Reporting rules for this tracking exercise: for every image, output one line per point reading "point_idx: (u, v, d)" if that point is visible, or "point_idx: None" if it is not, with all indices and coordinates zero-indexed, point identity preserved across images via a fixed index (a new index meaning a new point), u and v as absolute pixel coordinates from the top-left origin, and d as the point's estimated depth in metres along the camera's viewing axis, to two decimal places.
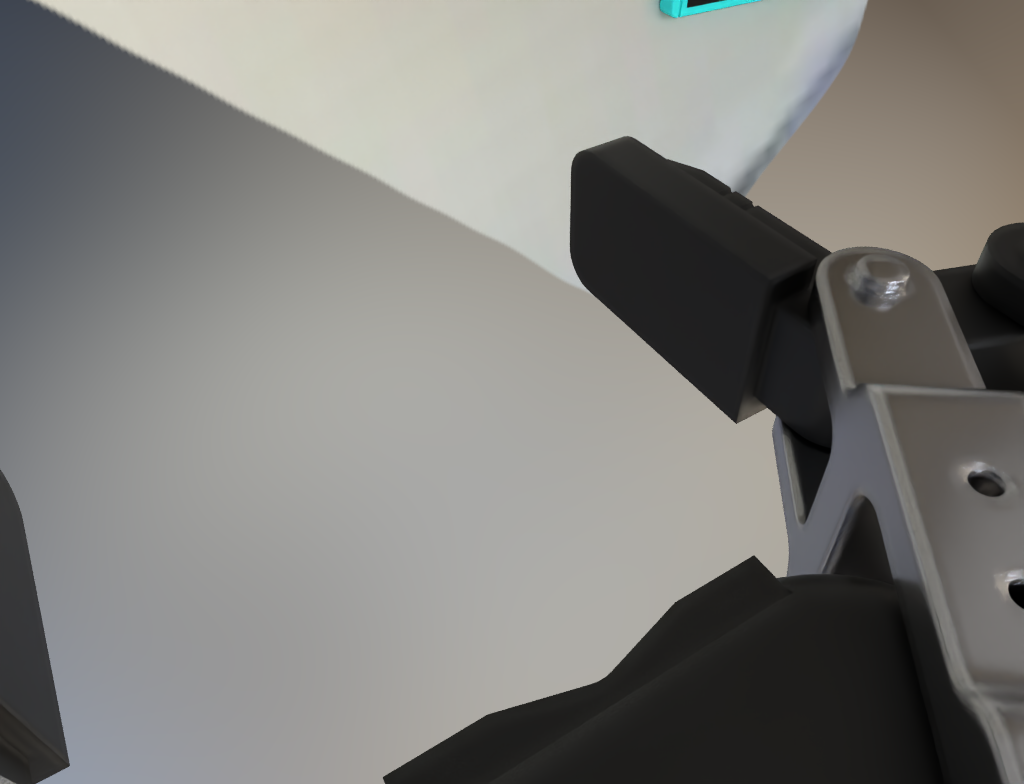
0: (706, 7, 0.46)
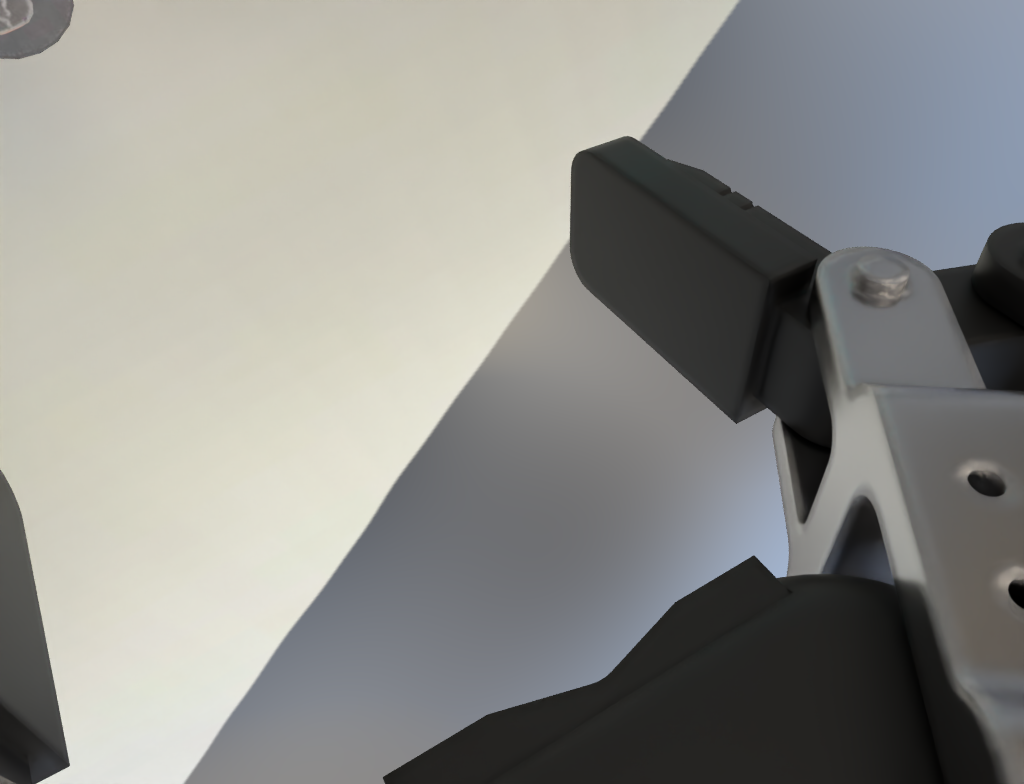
0: None
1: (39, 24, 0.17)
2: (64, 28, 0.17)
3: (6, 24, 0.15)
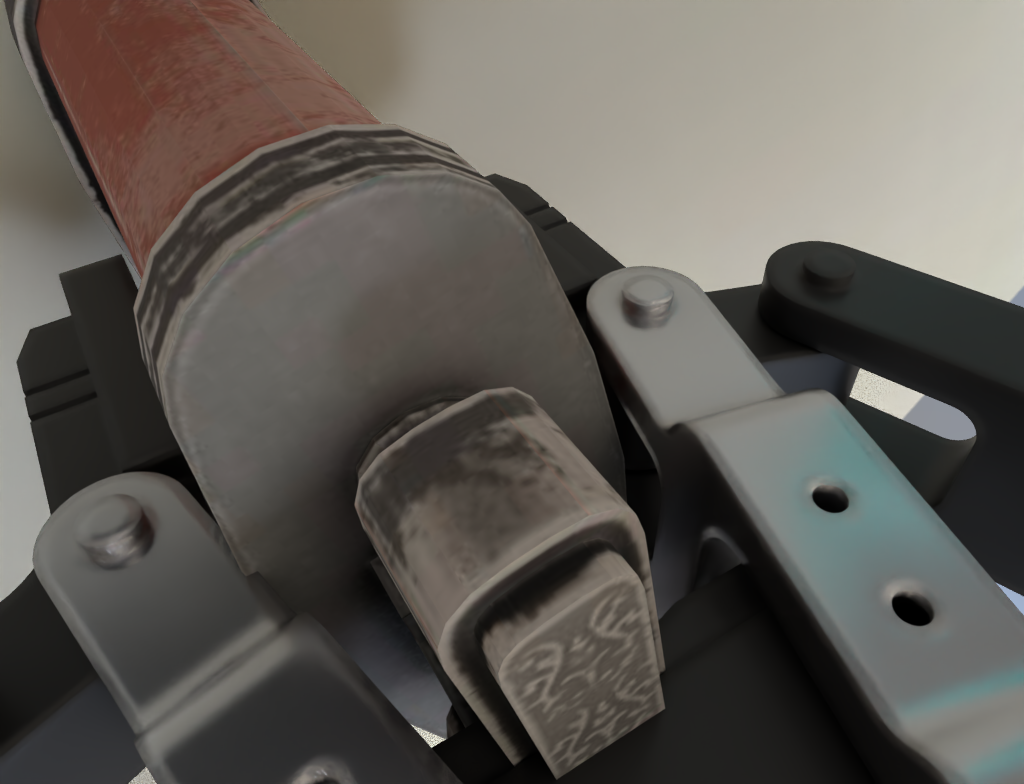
0: None
1: None
2: None
3: None
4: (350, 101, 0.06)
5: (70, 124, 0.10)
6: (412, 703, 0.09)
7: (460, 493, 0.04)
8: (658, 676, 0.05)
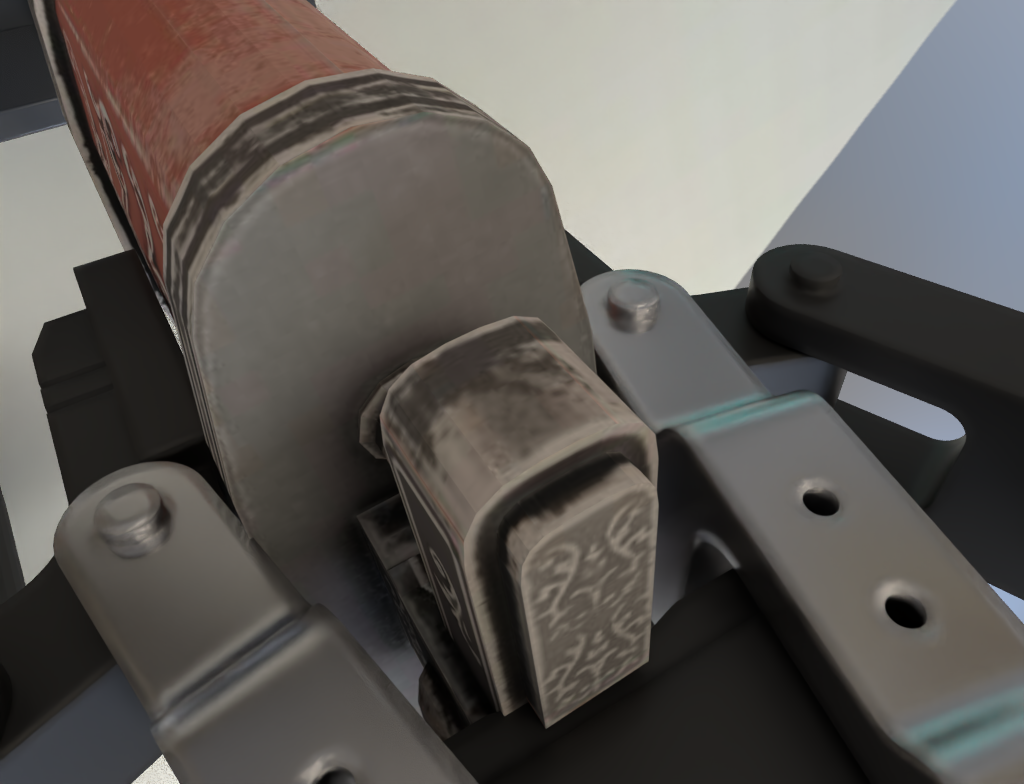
0: None
1: None
2: None
3: None
4: (380, 64, 0.06)
5: (74, 81, 0.10)
6: None
7: (492, 400, 0.04)
8: (649, 616, 0.05)
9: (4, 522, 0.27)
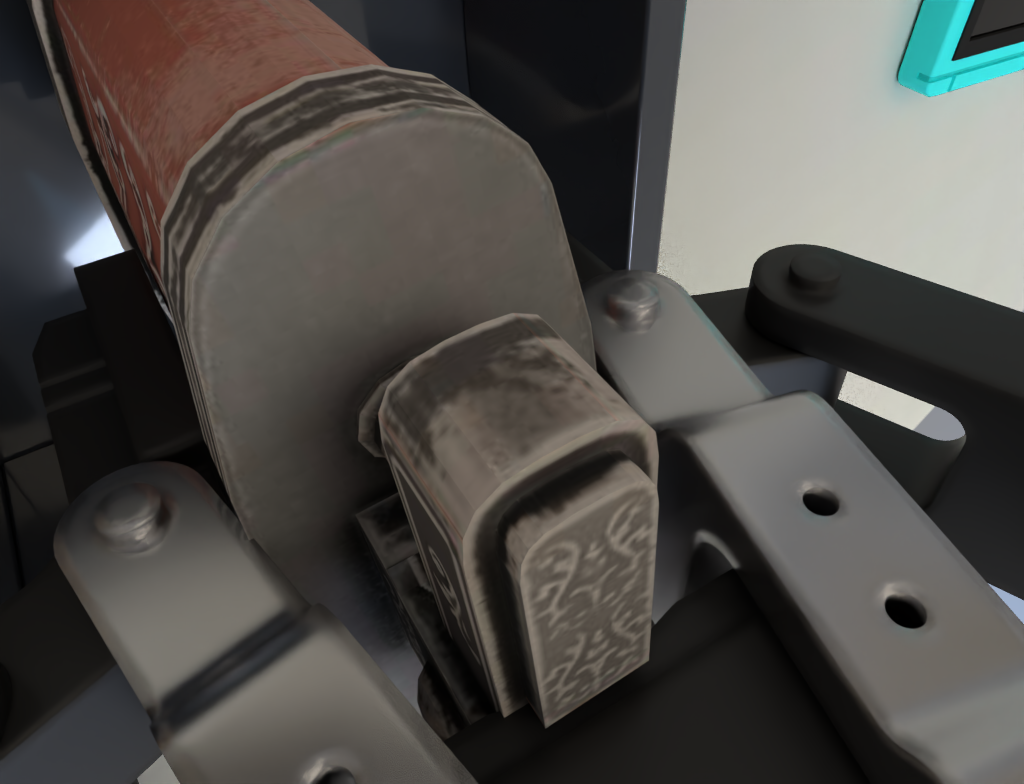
0: None
1: None
2: None
3: None
4: (379, 61, 0.06)
5: (72, 79, 0.10)
6: None
7: (491, 397, 0.04)
8: (650, 614, 0.05)
9: None
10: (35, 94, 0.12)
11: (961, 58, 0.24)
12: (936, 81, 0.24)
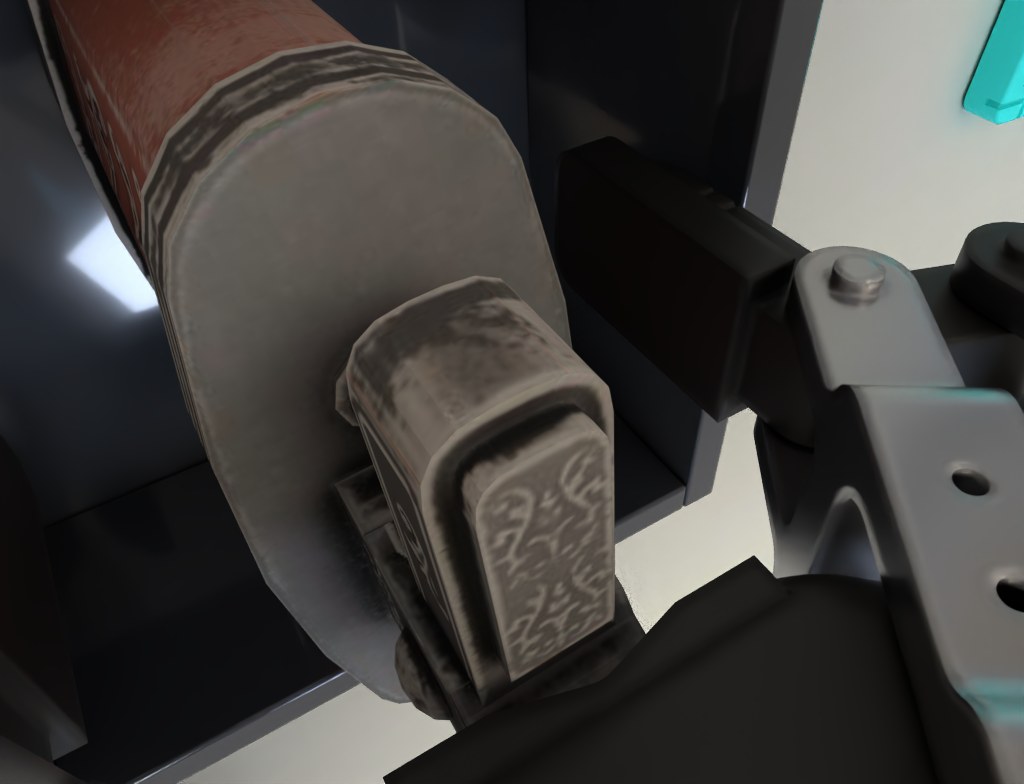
0: None
1: None
2: None
3: None
4: (357, 41, 0.07)
5: (65, 66, 0.10)
6: (355, 651, 0.09)
7: (450, 351, 0.04)
8: (611, 571, 0.05)
9: None
10: (58, 149, 0.11)
11: None
12: (1006, 108, 0.22)
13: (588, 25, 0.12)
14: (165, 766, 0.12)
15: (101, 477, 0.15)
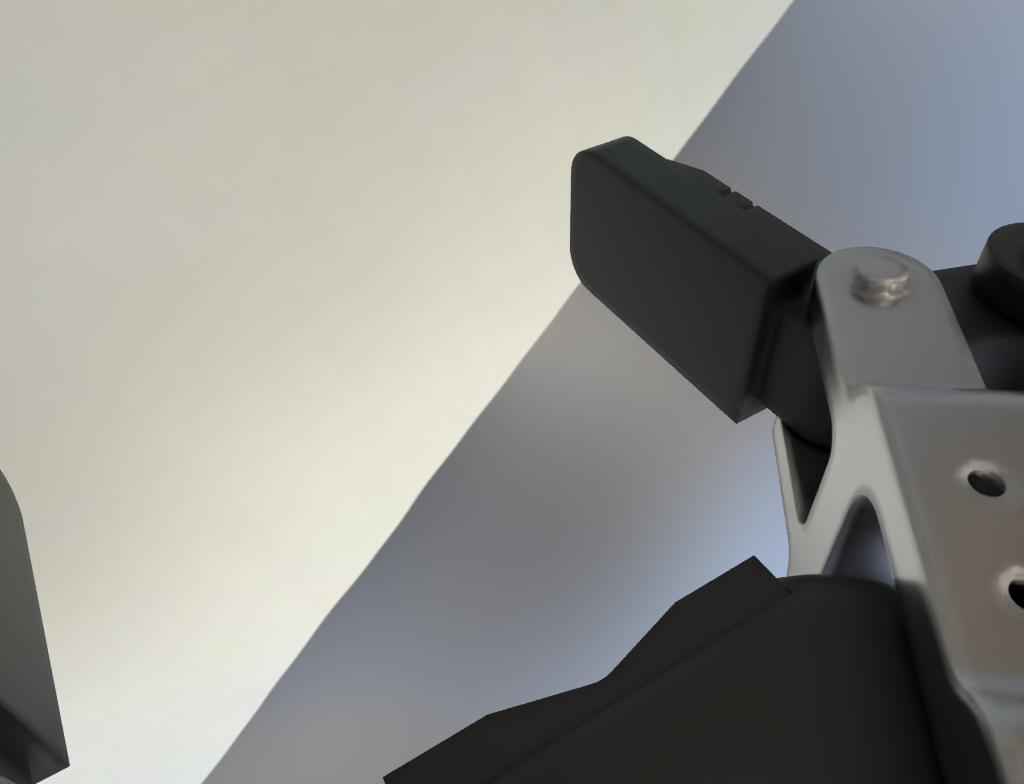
0: None
1: None
2: None
3: None
4: None
5: None
6: None
7: None
8: None
9: None
10: None
11: None
12: None
13: None
14: None
15: None
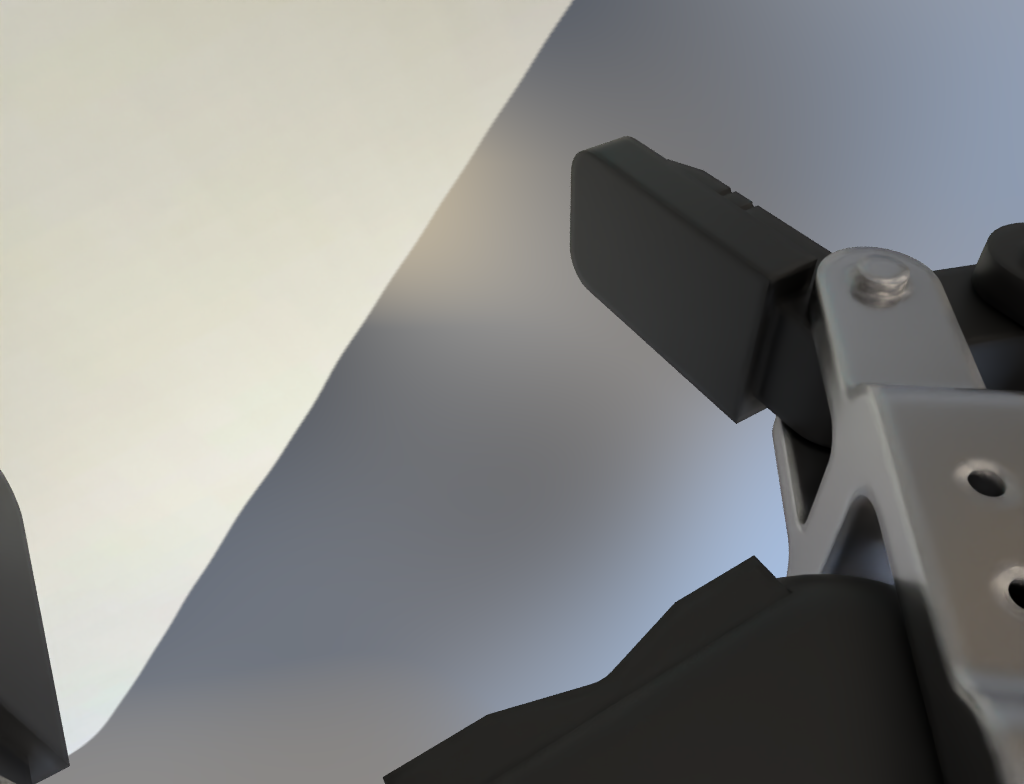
0: None
1: None
2: None
3: None
4: None
5: None
6: None
7: None
8: None
9: None
10: None
11: None
12: None
13: None
14: None
15: None
